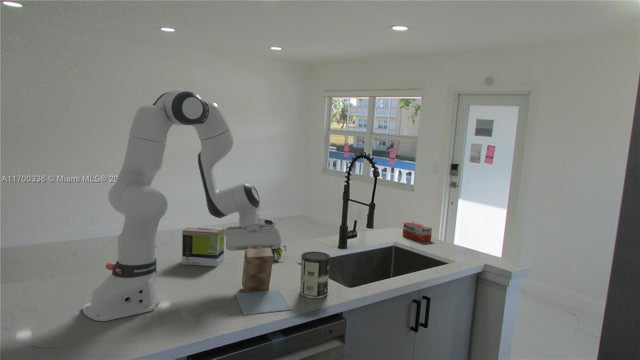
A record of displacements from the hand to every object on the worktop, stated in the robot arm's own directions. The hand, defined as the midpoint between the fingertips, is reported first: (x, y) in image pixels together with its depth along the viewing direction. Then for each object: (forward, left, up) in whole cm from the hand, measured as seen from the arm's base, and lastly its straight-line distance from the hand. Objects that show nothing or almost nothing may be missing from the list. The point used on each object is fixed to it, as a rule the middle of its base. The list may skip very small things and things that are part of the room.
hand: (256, 259), depth 157 cm
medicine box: (+119, -4, -12) cm, 119 cm away
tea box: (+4, +37, -12) cm, 39 cm away
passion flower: (+30, +24, -12) cm, 40 cm away
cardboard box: (0, 0, -11) cm, 11 cm away
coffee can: (+13, -17, -12) cm, 24 cm away
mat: (-6, -10, -11) cm, 16 cm away
